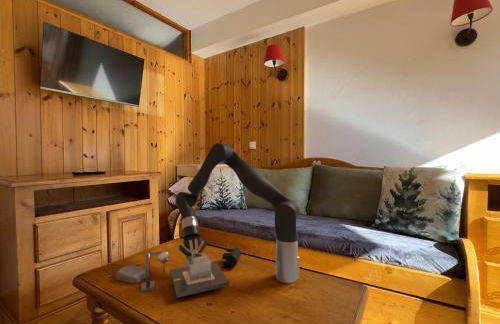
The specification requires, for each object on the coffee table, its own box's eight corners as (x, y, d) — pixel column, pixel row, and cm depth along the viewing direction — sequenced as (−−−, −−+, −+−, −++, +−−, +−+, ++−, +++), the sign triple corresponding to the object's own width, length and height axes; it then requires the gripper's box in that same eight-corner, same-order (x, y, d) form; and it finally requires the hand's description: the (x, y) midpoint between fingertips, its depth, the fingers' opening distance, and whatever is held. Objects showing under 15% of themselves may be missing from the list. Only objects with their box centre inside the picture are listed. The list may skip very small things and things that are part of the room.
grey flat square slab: (214, 264, 114) (214, 261, 114) (229, 285, 96) (229, 281, 96) (170, 272, 106) (170, 269, 105) (176, 297, 87) (176, 293, 87)
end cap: (236, 270, 113) (236, 255, 113) (222, 268, 114) (222, 254, 114) (241, 260, 123) (241, 247, 123) (227, 259, 124) (227, 246, 124)
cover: (205, 269, 106) (205, 249, 106) (211, 278, 98) (211, 257, 98) (186, 273, 102) (186, 253, 102) (190, 282, 95) (190, 261, 94)
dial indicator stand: (168, 280, 103) (168, 247, 103) (170, 286, 98) (170, 251, 98) (141, 286, 98) (141, 251, 98) (141, 292, 94) (141, 256, 94)
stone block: (132, 274, 112) (113, 279, 103) (134, 263, 113) (115, 268, 104) (152, 279, 108) (134, 286, 99) (154, 268, 109) (136, 274, 100)
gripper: (176, 226, 110) (181, 264, 99) (205, 223, 116) (212, 258, 105) (175, 234, 115) (179, 271, 104) (202, 230, 121) (209, 265, 110)
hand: (195, 264), depth 105 cm, fingers closed
